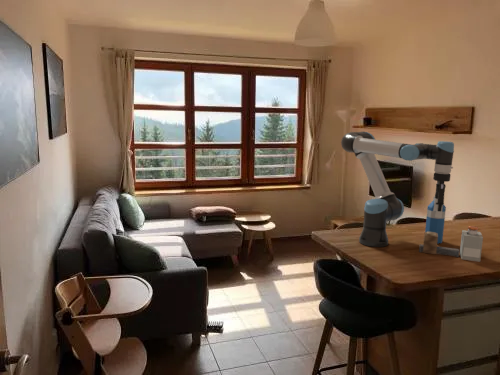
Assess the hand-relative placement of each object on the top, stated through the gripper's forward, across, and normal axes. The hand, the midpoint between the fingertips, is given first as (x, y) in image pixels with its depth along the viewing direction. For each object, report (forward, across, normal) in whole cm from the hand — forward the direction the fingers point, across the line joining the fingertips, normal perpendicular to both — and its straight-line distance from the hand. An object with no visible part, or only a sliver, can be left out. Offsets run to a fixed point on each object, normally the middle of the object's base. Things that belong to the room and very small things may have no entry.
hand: (437, 214), depth 203 cm
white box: (+19, -4, -16) cm, 25 cm away
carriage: (+19, -3, +2) cm, 20 cm away
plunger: (+10, -4, -16) cm, 19 cm away
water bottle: (+20, +18, -1) cm, 27 cm away
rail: (+19, -3, -2) cm, 20 cm away
